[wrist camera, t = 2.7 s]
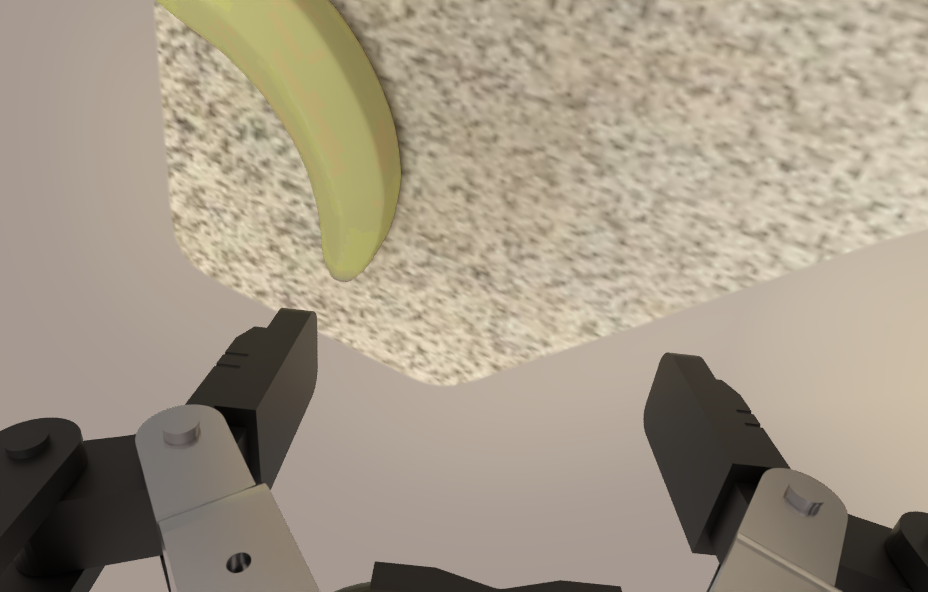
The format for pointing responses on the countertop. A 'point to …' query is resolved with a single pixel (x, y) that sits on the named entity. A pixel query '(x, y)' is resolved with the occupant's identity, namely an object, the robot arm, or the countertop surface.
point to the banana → (316, 111)
